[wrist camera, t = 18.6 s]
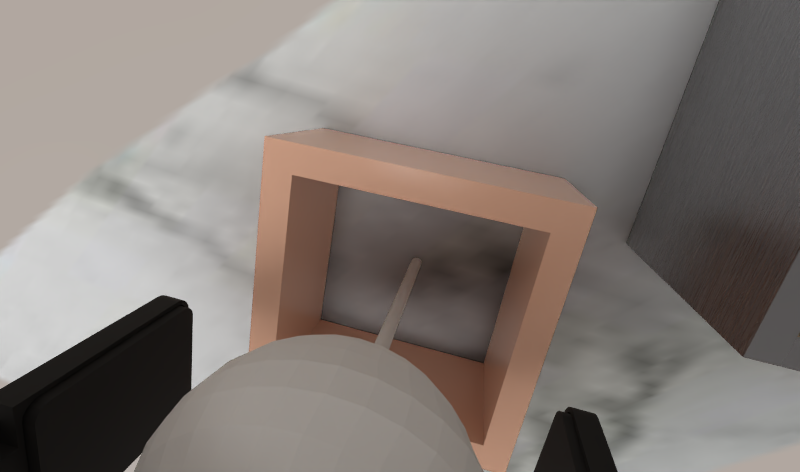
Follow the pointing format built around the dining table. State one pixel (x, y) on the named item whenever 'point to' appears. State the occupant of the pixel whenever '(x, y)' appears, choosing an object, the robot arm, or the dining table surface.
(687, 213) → the box
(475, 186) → the tool holder
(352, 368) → the lollipop
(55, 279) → the dining table surface
